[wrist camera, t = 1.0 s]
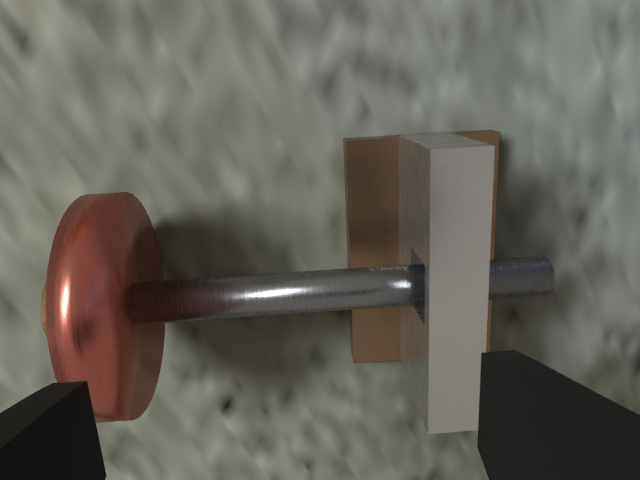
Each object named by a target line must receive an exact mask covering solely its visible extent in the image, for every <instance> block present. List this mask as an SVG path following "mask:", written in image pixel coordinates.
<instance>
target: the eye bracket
mask: <svg viewBox="0 0 640 480" xmlns="http://www.w3.org/2000/svg"><path fill="white" fill-rule="evenodd" d="M499 137H500V132H498V131H493V130H482V131H464V132H436V133H418V134H401V135H394V136H376V137H359V138H343V142H344V168H345V194H346V221H347V247H348V269H349V268H365V267H380V266H395V265H411V264H424V265H425V305H413V306H399V307H384V308H369V309H355V310H350V326H351V352H352V357H353V362H354V363H366V362H380V361H394V360H400V363H401V366H402V368H403V371H404V373H405V376H406V378H407V381H408V384H409V386H410V389H411V391H412V394H413V396H414V399H415V402H416V404H417V407H418V409H419V412H420V414H421V417H422V419H423V422H424V425H425V427H426V430H427V432H428V434H434V433H447V432H460V431H473V430H478V421H479V396H480V372H481V353H484V352H490V334H491V312H492V300H488V292H489V269H490V259H494V246H495V224H496V202H497V180H498V159H499Z"/></svg>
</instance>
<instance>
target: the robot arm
mask: <svg viewBox="0 0 640 480" xmlns="http://www.w3.org/2000/svg"><path fill="white" fill-rule="evenodd" d="M477 447H478V450H479V452H480V455H481V458H482V461H483V464H484V466H485V469H486V472H487V475H488V477H489V480H640V415H638V414H636V413H634V412H632V411H630V410H629V409H627V408H625V407H623V406H621V405H619V404H617V403H615V402H613V401H611V400H609V399H607V398H605V397H603V396H601V395H599V394H598V393H596V392H594V391H592V390H590V389H588V388H586V387H584V386H583V385H581V384H579V383H577V382H575V381H573V380H571V379H570V378H568V377H566V376H564V375H562V374H560V373H559V372H557V371H555V370H553V369H551V368H549V367H547V366H545V365H544V364H542V363H540V362H538V361H536V360H534V359H532V358H530V357H528V356H526V355H524V354H521V353H519V352H517V351H514V350H512V351H498V352H484V353H481V372H480V396H479V421H478V446H477ZM105 478H106V472H105V467H104V462H103V457H102V452H101V447H100V442H99V437H98V432H97V427H96V422H95V417H94V412H93V407H92V402H91V397H90V393H89V388H88V383H87V381H78V382H64V383H53V384H51V385H48V386H46V387H44V388H42V389H40V390H39V391H37V392H35V393H33V394H31V395H30V396H28V397H26V398H25V399H23V400H21V401H20V402H18V403H16V404H15V405H13V406H11V407H10V408H8V409H6V410H5V411H3V412H2V413H0V480H105Z"/></svg>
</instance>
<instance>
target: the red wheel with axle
mask: <svg viewBox="0 0 640 480" xmlns="http://www.w3.org/2000/svg"><path fill="white" fill-rule="evenodd" d="M553 288H554V271H553V267H552V265H551V262H550V261H549V259H548V258H547V257H545V256H533V257H518V258H502V259H490V269H489V292H488V300H502V299H516V298H531V297H546V296H550V295H551V293H552V291H553ZM413 305H425V265H424V264H411V265H395V266H380V267H365V268H349V269H334V270H319V271H304V272H288V273H273V274H258V275H242V276H227V277H212V278H196V279H181V280H166V281H164V280H163V271H162V264H161V258H160V253H159V248H158V244H157V240H156V236H155V233H154V229H153V226H152V224H151V221H150V218H149V216H148V214H147V212H146V210H145V208H144V207H143V205H142V203H141V202H140V201H139V200H138V199H137V198H136V197H135V196H134V195H133V194H130V193H128V192H120V193H103V194H86V195H83V196H80V197H79V198H77V199H76V200H75V201H74V202H73V203H72V204H71V205H70V206H69V207H68V209H67V210H66V212H65V214H64V215H63V217H62V219H61V221H60V224H59V226H58V228H57V231H56V234H55V237H54V240H53V245H52V249H51V253H50V258H49V265H48V271H47V282H46V283H45V286H44V288H43V292H42V297H41V309H40V310H41V321H42V325H43V329H44V332H45V334H46V336H47V338H48V346H49V352H50V357H51V363H52V366H53V370H54V374H55V378H56V380H57V383H64V382H78V381H87V383H88V388H89V393H90V397H91V402H92V407H93V412H94V417H95V422H96V423H100V422H114V421H127V420H135V419H137V418H139V417H140V416H141V415H142V414H143V413H144V411H145V410H146V409H147V407H148V405H149V403H150V401H151V399H152V397H153V394H154V392H155V389H156V385H157V382H158V378H159V373H160V368H161V363H162V356H163V348H164V337H165V322H178V321H193V320H207V319H222V318H237V317H252V316H266V315H281V314H296V313H310V312H325V311H340V310H355V309H369V308H384V307H399V306H413Z"/></svg>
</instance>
